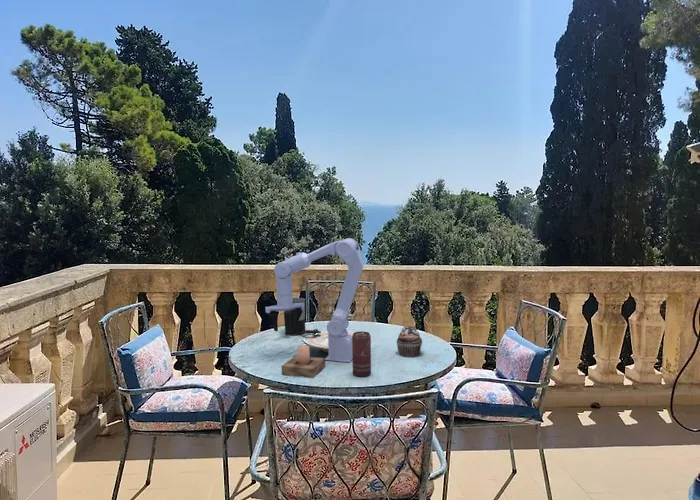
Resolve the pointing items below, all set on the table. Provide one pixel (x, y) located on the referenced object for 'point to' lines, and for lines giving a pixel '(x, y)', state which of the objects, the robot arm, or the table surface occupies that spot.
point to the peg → (303, 355)
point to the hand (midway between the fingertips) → (285, 329)
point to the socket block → (303, 367)
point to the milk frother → (301, 324)
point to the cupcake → (409, 342)
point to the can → (361, 354)
